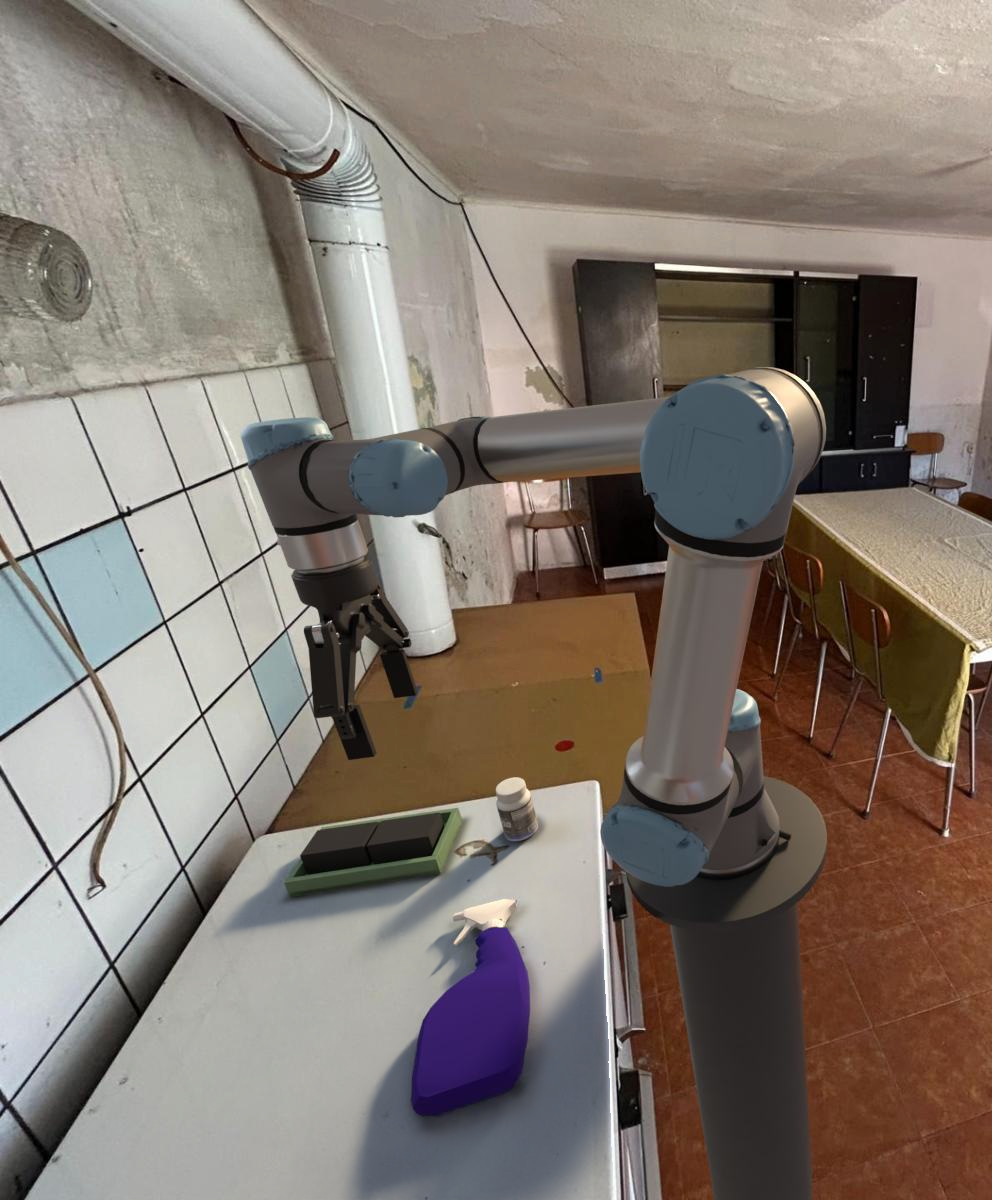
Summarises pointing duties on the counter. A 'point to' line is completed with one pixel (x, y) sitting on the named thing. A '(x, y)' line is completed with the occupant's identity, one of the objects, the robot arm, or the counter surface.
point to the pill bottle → (516, 809)
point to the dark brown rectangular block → (339, 848)
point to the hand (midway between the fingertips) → (386, 724)
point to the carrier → (378, 873)
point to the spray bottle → (475, 1022)
